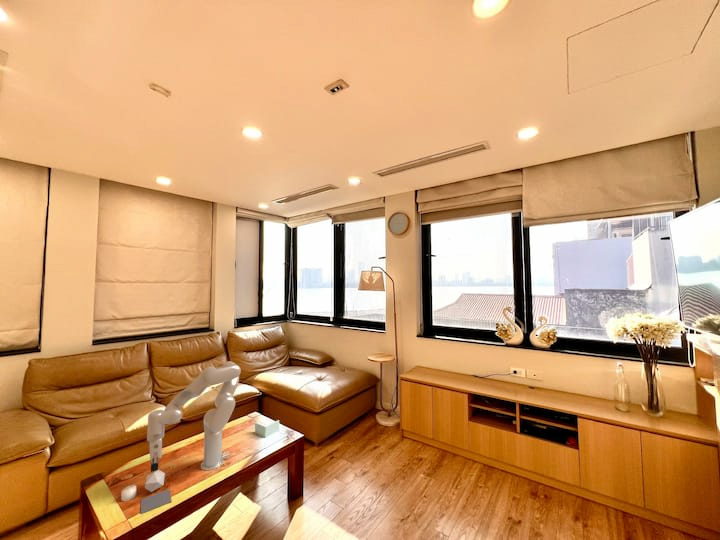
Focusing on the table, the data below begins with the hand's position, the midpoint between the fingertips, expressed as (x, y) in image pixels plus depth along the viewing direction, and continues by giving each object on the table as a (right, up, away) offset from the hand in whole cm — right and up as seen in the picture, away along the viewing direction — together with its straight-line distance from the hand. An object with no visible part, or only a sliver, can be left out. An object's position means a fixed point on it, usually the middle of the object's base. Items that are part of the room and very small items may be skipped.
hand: (154, 470), depth 152 cm
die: (+2, -9, -2) cm, 9 cm away
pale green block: (+43, -11, +54) cm, 70 cm away
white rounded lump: (-7, -8, -8) cm, 14 cm away
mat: (+9, -8, -11) cm, 16 cm away
